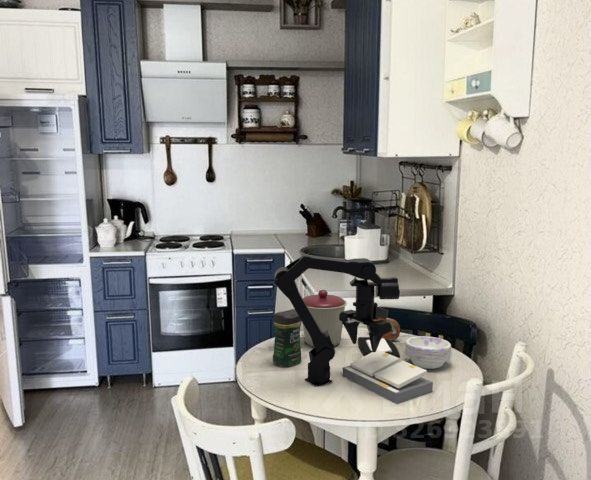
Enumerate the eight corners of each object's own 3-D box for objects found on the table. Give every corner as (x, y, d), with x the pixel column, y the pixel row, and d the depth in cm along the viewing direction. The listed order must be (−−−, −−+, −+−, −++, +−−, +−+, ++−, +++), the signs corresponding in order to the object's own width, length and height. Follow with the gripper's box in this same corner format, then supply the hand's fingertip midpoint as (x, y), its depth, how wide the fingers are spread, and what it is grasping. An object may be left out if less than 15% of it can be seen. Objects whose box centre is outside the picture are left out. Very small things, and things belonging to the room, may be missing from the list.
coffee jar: (285, 369, 184) (285, 315, 181) (269, 363, 190) (269, 311, 187) (305, 362, 191) (305, 310, 188) (290, 356, 196) (290, 306, 194)
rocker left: (372, 376, 170) (371, 372, 169) (351, 366, 178) (350, 363, 178) (399, 361, 176) (399, 357, 176) (378, 352, 184) (377, 349, 184)
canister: (289, 343, 210) (288, 289, 207) (322, 333, 222) (322, 282, 219) (322, 355, 197) (323, 298, 194) (356, 344, 209) (357, 290, 206)
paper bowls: (444, 356, 197) (445, 335, 195) (455, 372, 182) (456, 349, 180) (401, 356, 197) (402, 334, 196) (408, 372, 182) (409, 349, 181)
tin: (366, 334, 222) (366, 314, 220) (371, 332, 224) (371, 312, 223) (396, 343, 211) (396, 322, 209) (401, 341, 213) (401, 320, 211)
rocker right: (398, 388, 160) (398, 384, 160) (375, 377, 168) (374, 373, 168) (427, 374, 167) (426, 370, 166) (403, 364, 175) (402, 360, 175)
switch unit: (396, 403, 158) (397, 390, 158) (342, 376, 178) (342, 364, 178) (432, 391, 167) (432, 378, 166) (376, 366, 187) (377, 355, 186)
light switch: (403, 354, 194) (364, 351, 194) (402, 362, 195) (363, 359, 194) (391, 336, 214) (356, 333, 213) (390, 343, 214) (355, 340, 214)
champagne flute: (288, 352, 200) (288, 288, 197) (271, 350, 203) (271, 286, 199) (295, 346, 206) (295, 284, 203) (279, 344, 209) (279, 282, 206)
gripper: (405, 302, 168) (404, 351, 170) (364, 290, 183) (363, 335, 185) (378, 307, 162) (377, 358, 164) (338, 295, 177) (337, 341, 179)
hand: (364, 347), depth 173 cm, fingers open, 9 cm apart
